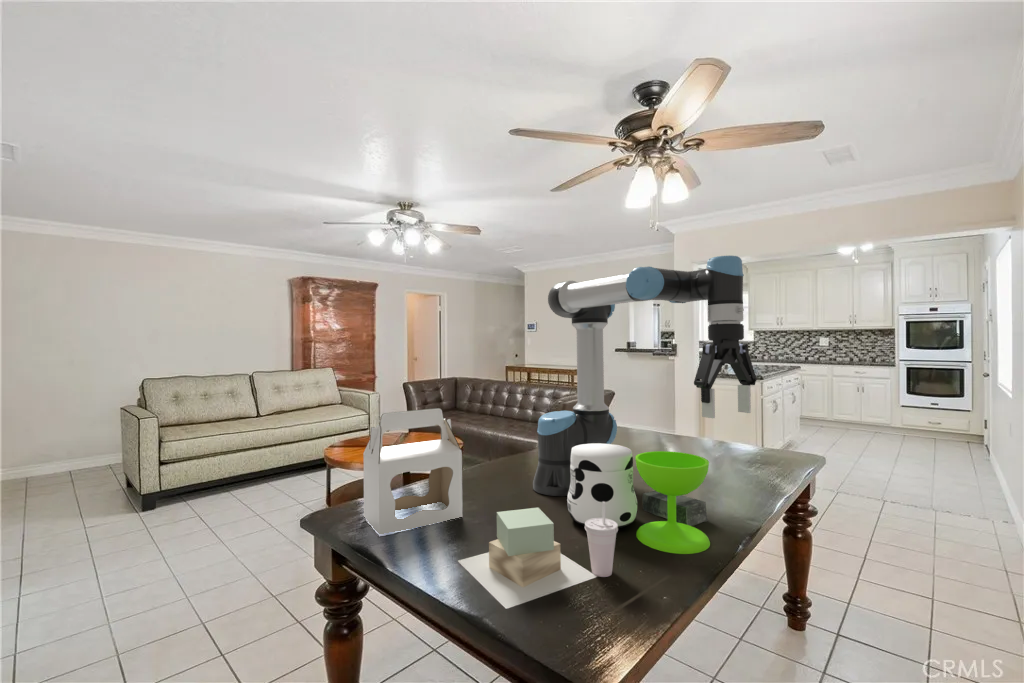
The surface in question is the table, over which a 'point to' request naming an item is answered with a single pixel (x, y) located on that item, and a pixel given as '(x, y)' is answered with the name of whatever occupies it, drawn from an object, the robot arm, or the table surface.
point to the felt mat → (515, 594)
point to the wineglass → (672, 499)
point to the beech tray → (524, 563)
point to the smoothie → (601, 543)
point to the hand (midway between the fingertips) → (727, 415)
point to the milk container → (602, 483)
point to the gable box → (412, 457)
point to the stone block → (686, 508)
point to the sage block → (525, 531)
